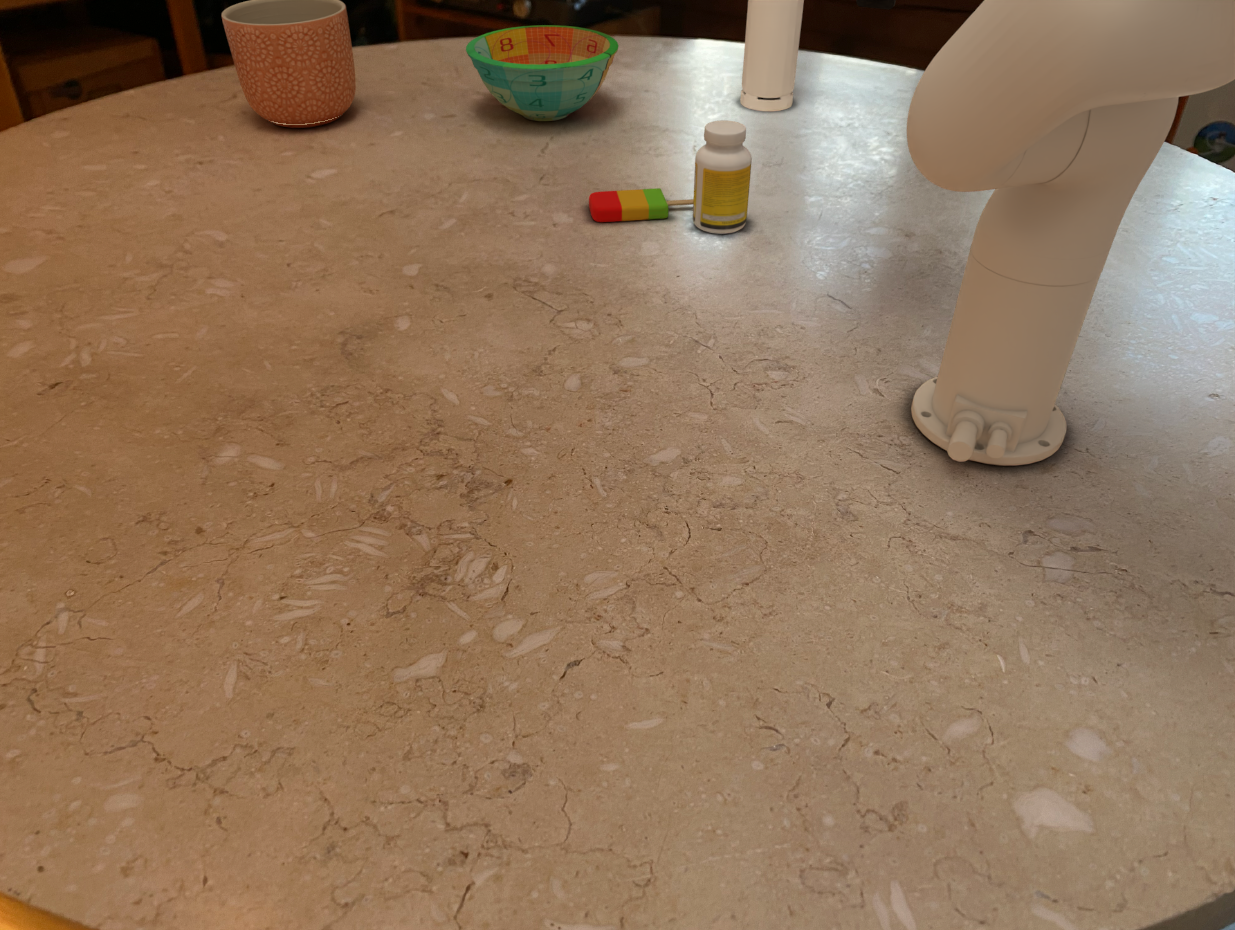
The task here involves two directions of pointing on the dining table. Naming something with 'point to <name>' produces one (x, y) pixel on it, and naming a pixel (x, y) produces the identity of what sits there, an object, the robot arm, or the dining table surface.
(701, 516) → the dining table surface
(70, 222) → the dining table surface
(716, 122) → the pill bottle
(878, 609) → the dining table surface
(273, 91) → the planter
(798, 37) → the bottle
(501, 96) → the bowl
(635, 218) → the popsicle
